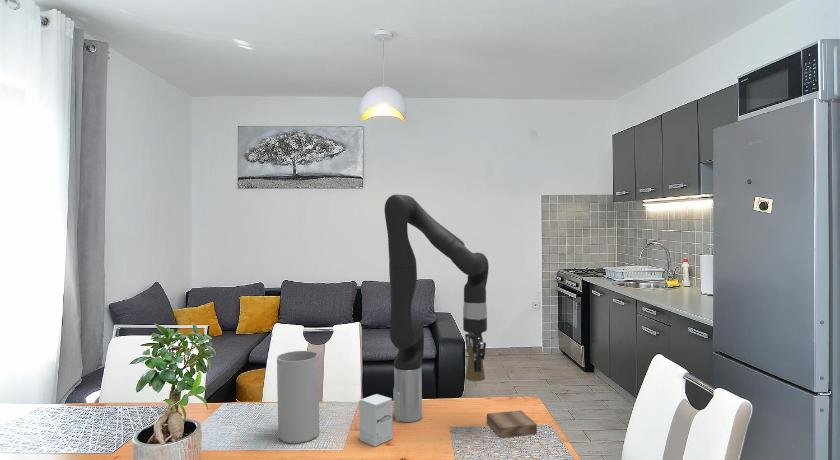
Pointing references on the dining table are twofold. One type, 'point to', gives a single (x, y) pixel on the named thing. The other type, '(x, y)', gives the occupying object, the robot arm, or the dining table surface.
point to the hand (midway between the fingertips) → (475, 369)
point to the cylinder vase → (298, 396)
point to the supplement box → (375, 419)
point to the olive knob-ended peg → (471, 373)
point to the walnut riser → (511, 424)
